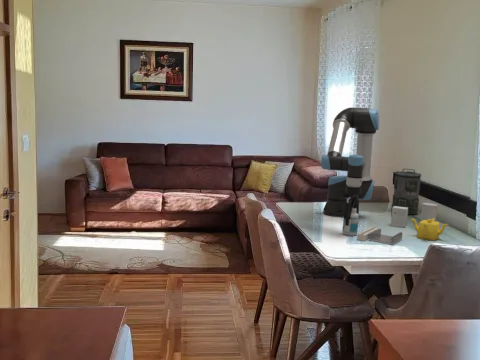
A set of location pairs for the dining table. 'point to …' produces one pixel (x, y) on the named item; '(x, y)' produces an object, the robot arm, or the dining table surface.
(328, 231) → the dining table surface
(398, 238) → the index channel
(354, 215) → the pill bottle
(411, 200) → the canister
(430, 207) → the cup
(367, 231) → the door edge
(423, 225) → the teapot
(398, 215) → the small box
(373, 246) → the dining table surface
